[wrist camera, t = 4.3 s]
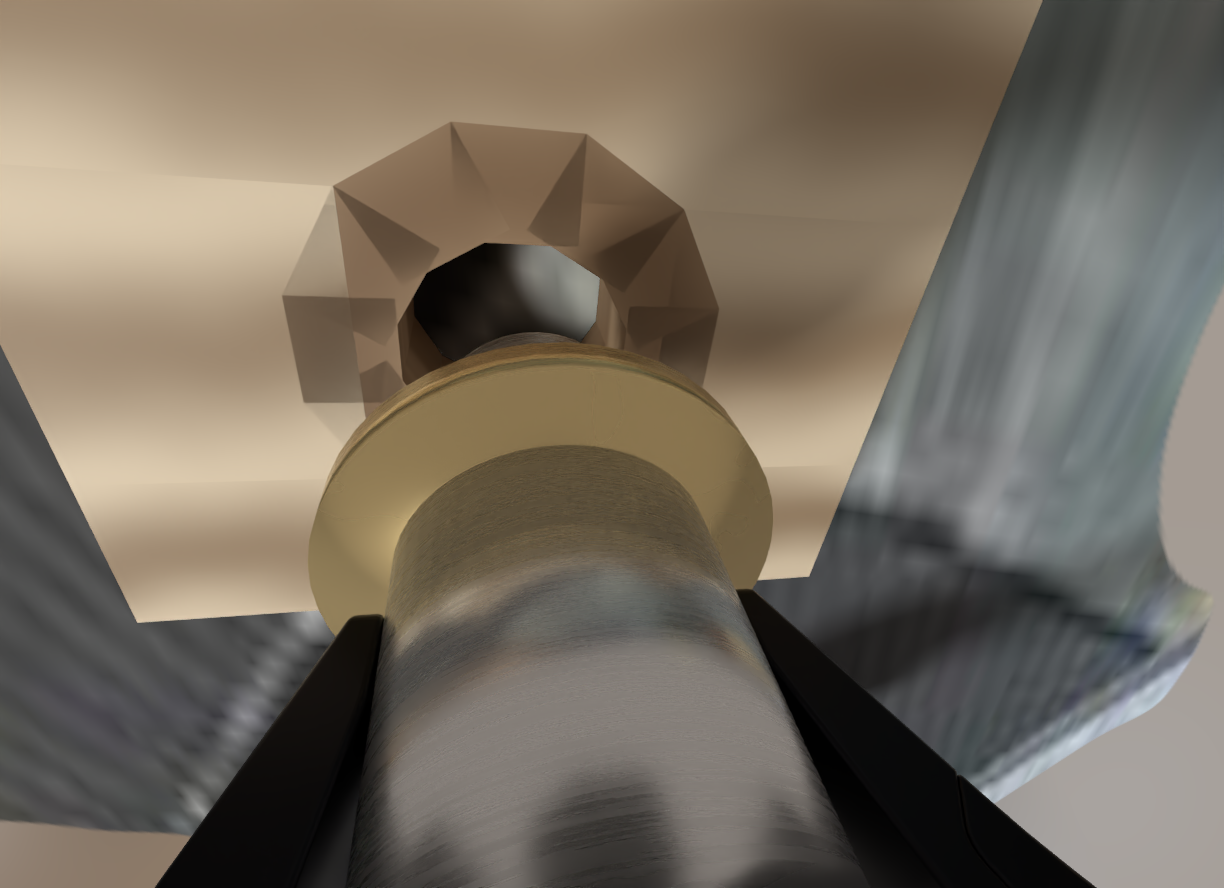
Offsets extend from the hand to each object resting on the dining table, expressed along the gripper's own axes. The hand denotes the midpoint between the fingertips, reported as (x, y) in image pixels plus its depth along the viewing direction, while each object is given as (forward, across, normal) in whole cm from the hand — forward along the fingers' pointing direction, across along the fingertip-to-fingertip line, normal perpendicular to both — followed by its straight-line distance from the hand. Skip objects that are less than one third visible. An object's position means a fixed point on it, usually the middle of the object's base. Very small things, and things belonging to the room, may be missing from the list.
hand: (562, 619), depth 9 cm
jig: (+12, 0, 0) cm, 13 cm away
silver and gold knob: (+5, 0, 0) cm, 5 cm away
